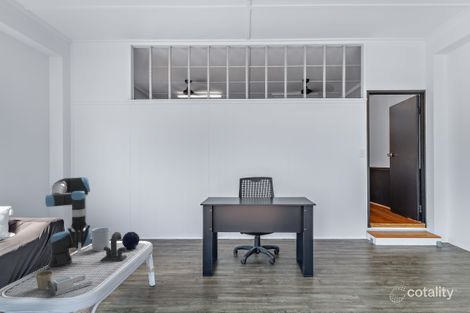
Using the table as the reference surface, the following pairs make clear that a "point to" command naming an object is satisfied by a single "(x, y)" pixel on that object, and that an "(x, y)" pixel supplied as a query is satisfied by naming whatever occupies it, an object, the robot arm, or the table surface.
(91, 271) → the table surface
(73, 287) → the rail
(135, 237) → the decorative orb
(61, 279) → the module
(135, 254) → the table surface
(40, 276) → the flower pot
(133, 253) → the table surface
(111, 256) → the faucet
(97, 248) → the utensil holder
